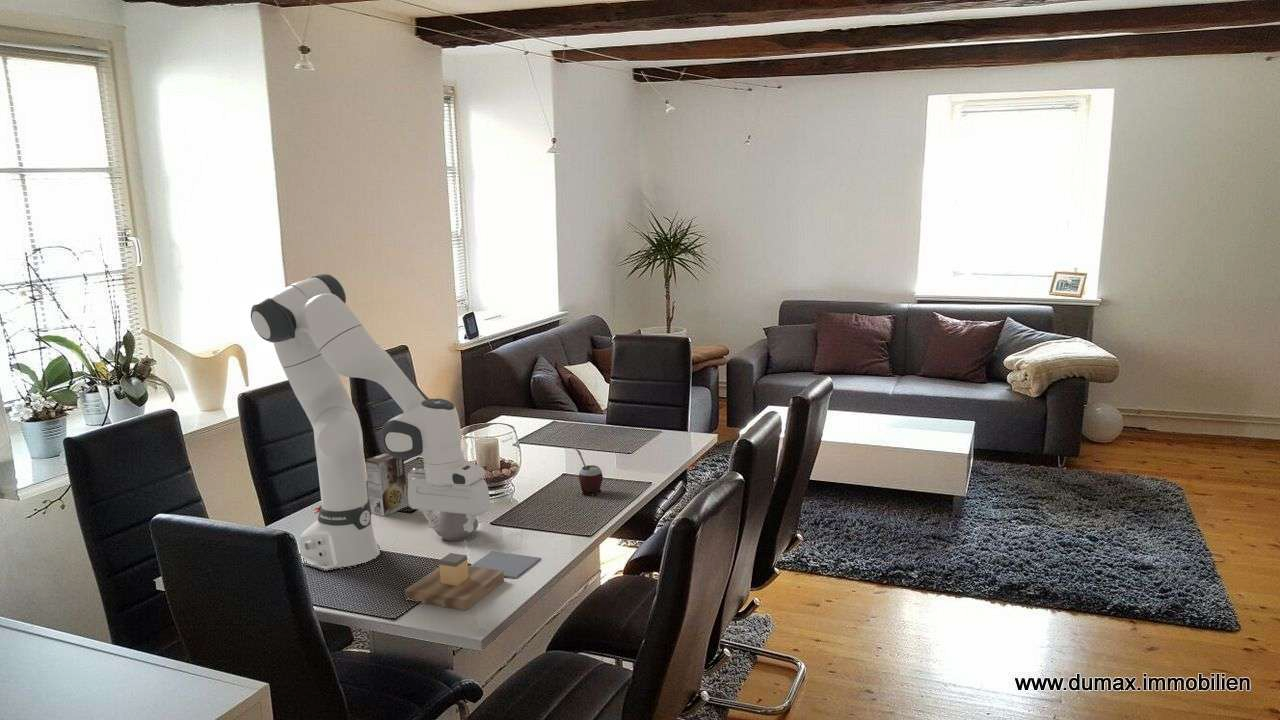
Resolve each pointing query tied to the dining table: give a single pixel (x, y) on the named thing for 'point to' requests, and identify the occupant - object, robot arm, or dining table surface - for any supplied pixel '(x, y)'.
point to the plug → (453, 569)
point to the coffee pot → (454, 525)
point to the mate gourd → (589, 477)
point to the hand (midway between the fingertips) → (451, 529)
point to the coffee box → (386, 484)
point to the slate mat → (507, 563)
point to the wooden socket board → (455, 588)
